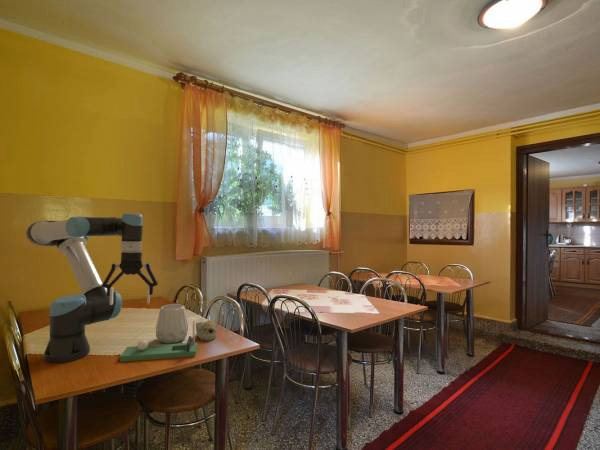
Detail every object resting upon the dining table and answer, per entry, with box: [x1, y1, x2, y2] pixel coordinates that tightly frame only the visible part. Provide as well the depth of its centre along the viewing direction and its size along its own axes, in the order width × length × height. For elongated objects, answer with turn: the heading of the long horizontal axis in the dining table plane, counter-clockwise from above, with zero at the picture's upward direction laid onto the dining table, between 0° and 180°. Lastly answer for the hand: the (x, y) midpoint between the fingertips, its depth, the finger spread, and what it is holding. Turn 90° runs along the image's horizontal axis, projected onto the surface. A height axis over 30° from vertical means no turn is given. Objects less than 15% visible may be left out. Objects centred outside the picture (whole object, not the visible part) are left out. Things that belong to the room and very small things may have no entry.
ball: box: [136, 339, 149, 351], centre depth 137 cm, size 4×4×4 cm
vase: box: [155, 303, 189, 344], centre depth 155 cm, size 14×14×15 cm
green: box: [119, 320, 198, 362], centre depth 138 cm, size 28×10×12 cm, turn 103°
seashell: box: [195, 321, 217, 342], centre depth 159 cm, size 10×10×10 cm
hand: (130, 303), depth 137 cm, fingers open, 13 cm apart
